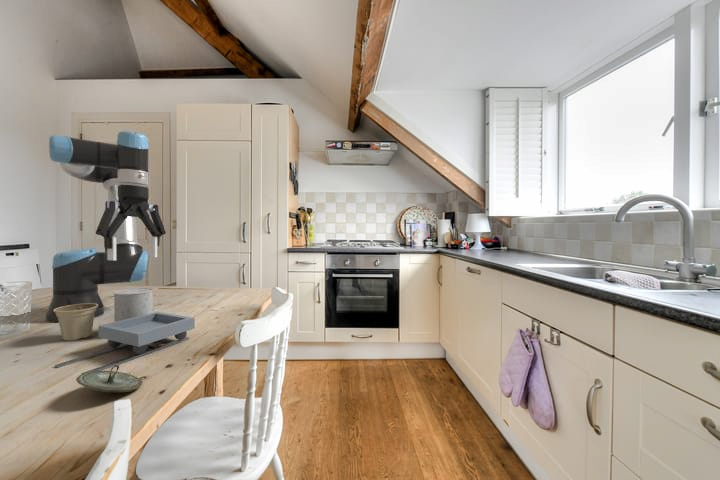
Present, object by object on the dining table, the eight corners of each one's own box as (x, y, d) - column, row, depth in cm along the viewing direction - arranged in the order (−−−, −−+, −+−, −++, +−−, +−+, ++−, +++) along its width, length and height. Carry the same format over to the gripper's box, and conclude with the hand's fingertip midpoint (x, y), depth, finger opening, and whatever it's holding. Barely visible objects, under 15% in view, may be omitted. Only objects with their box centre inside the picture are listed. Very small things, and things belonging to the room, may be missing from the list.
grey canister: (133, 337, 90) (132, 295, 89) (105, 335, 91) (105, 293, 91) (160, 327, 99) (160, 289, 98) (135, 325, 101) (135, 287, 100)
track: (54, 366, 70) (54, 365, 70) (161, 333, 93) (161, 332, 93) (84, 376, 66) (84, 374, 66) (188, 338, 89) (188, 337, 89)
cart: (98, 348, 80) (98, 325, 80) (157, 330, 94) (157, 311, 94) (138, 358, 74) (138, 334, 74) (194, 338, 89) (194, 317, 88)
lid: (73, 391, 60) (72, 365, 60) (135, 374, 68) (135, 351, 68) (80, 413, 53) (80, 384, 53) (148, 391, 61) (148, 366, 60)
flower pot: (51, 345, 83) (51, 313, 82) (55, 336, 90) (55, 306, 90) (98, 338, 89) (97, 308, 88) (98, 329, 96) (98, 301, 96)
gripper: (95, 178, 81) (96, 262, 82) (178, 190, 103) (178, 256, 104) (78, 180, 84) (79, 261, 85) (162, 191, 106) (162, 255, 107)
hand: (133, 258), depth 94 cm, fingers open, 11 cm apart
